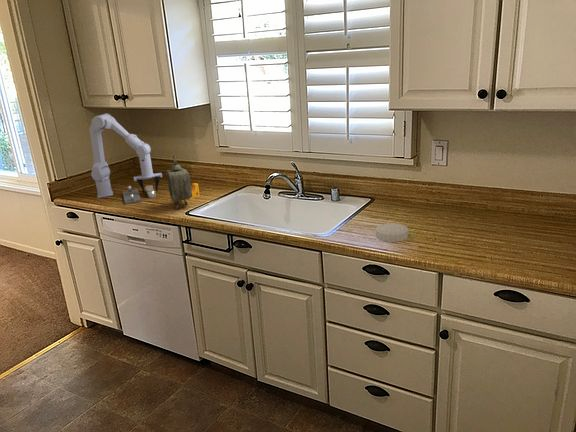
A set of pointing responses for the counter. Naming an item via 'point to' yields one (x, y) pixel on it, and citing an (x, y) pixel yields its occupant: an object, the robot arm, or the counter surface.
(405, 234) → the mooncake
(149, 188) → the ball knob lever
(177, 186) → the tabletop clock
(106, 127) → the robot arm
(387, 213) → the counter surface
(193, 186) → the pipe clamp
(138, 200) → the grey metal plate
